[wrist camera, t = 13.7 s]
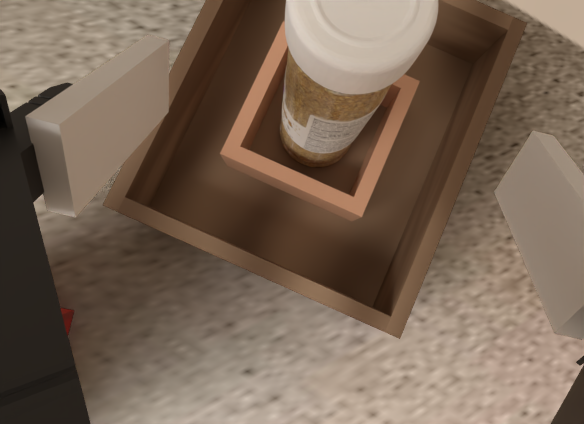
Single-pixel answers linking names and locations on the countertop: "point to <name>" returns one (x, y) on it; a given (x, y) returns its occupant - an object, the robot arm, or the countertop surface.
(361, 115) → the sprinkles bottle
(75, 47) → the countertop surface
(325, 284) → the walled box
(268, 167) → the inlet collar
